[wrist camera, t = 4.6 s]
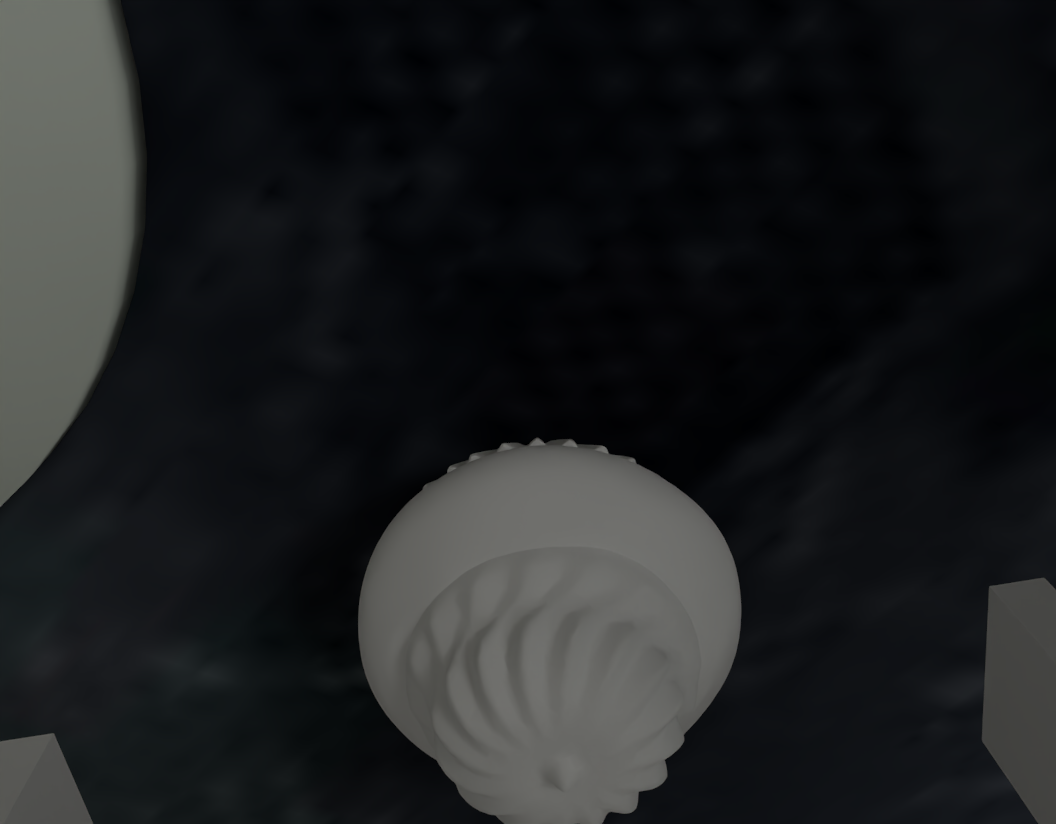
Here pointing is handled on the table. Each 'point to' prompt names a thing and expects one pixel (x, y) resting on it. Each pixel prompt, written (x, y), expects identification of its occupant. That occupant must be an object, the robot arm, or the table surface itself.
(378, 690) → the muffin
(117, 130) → the ceramic plate
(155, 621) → the table surface
